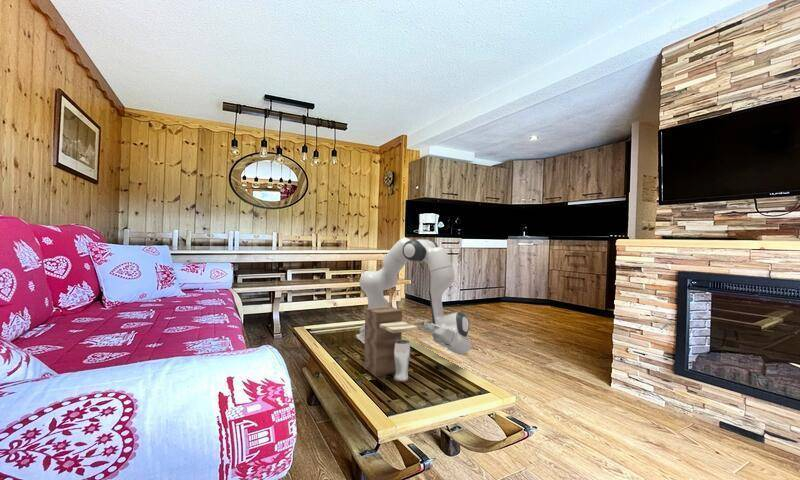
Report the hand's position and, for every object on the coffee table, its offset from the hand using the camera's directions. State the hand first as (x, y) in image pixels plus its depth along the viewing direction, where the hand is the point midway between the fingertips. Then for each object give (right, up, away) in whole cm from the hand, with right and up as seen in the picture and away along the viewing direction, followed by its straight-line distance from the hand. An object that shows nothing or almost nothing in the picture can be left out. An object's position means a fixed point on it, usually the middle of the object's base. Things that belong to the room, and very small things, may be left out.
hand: (420, 321), depth 143 cm
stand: (-17, -22, +4) cm, 28 cm away
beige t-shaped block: (-5, -1, -3) cm, 6 cm away
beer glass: (-8, -22, -5) cm, 24 cm away
